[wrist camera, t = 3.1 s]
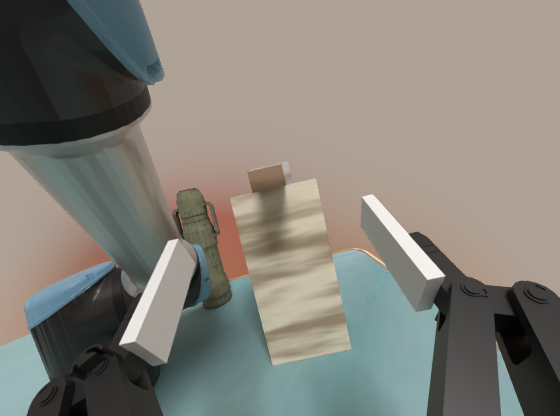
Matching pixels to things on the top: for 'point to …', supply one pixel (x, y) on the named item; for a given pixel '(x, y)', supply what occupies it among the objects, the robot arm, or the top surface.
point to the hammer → (270, 177)
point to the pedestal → (292, 271)
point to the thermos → (203, 241)
